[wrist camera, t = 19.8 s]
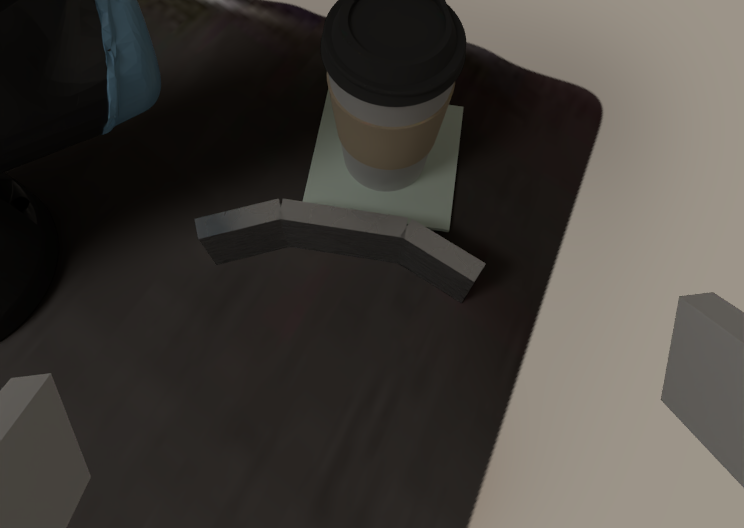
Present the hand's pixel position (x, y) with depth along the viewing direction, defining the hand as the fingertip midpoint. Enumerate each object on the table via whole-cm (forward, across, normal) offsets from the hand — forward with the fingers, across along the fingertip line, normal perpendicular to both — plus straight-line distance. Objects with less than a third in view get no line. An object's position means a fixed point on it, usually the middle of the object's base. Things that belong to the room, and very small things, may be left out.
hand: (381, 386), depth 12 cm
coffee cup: (+36, +4, -3) cm, 36 cm away
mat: (+36, +4, -4) cm, 36 cm away
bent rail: (+29, 0, -10) cm, 31 cm away
